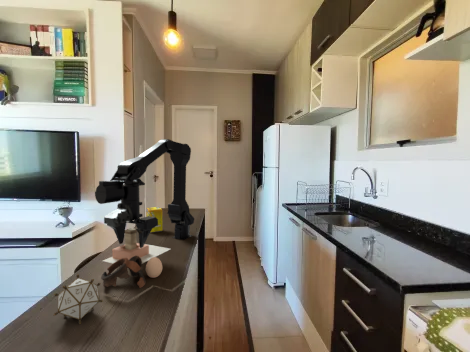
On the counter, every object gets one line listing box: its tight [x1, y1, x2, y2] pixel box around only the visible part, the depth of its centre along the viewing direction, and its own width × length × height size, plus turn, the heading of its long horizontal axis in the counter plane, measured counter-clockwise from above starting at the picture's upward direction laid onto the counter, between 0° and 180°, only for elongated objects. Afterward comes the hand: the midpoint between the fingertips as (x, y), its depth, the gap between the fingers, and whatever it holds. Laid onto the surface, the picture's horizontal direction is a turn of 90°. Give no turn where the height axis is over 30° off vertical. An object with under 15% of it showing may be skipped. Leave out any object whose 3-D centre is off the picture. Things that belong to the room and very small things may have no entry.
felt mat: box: [102, 243, 171, 267], centre depth 84 cm, size 18×13×1 cm
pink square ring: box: [111, 242, 150, 260], centre depth 82 cm, size 8×8×3 cm
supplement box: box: [145, 206, 164, 234], centre depth 112 cm, size 6×6×11 cm
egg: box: [145, 256, 163, 279], centre depth 68 cm, size 4×4×6 cm
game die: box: [53, 273, 104, 325], centre depth 51 cm, size 9×8×10 cm
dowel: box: [124, 227, 138, 250], centre depth 82 cm, size 3×3×9 cm
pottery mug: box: [100, 256, 146, 289], centre depth 64 cm, size 12×10×8 cm
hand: (131, 245), depth 82 cm, fingers open, 9 cm apart
